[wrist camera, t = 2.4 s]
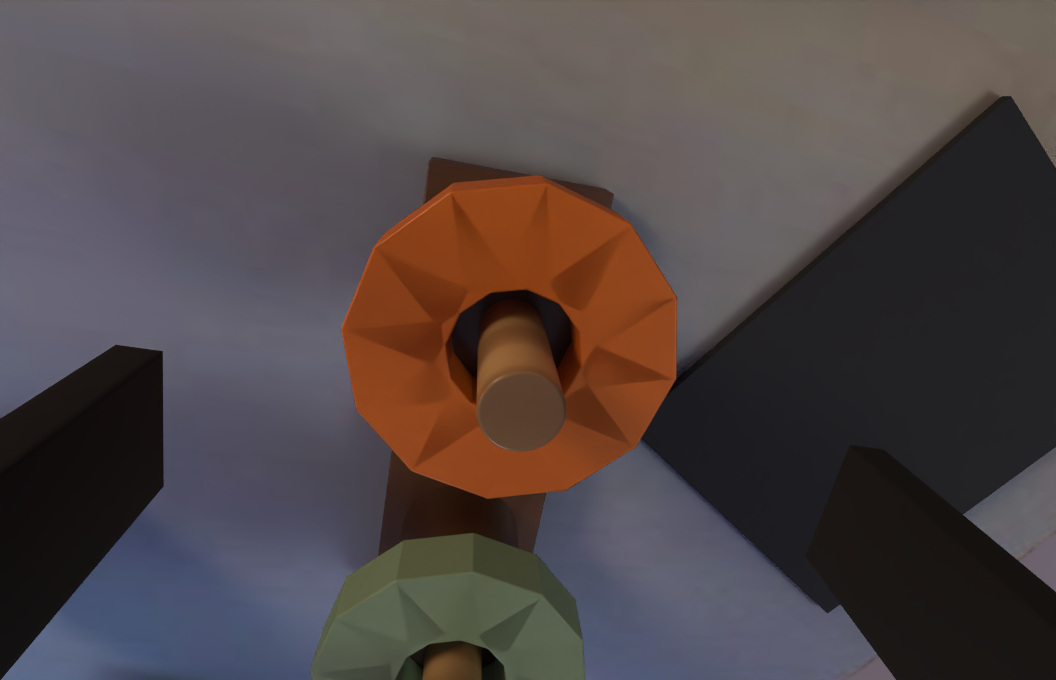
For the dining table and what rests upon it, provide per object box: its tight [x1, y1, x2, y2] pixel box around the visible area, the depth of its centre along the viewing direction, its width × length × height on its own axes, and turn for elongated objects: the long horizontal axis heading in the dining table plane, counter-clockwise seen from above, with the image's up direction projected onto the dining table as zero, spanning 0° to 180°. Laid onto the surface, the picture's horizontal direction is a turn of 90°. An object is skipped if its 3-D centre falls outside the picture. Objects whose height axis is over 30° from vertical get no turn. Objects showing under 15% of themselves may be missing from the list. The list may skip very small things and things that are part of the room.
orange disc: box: [341, 175, 677, 499], centre depth 18 cm, size 9×9×2 cm
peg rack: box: [378, 157, 613, 680], centre depth 22 cm, size 20×7×13 cm, turn 170°
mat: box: [641, 96, 1056, 613], centre depth 29 cm, size 20×16×1 cm
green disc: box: [310, 533, 585, 680], centre depth 22 cm, size 9×9×2 cm
